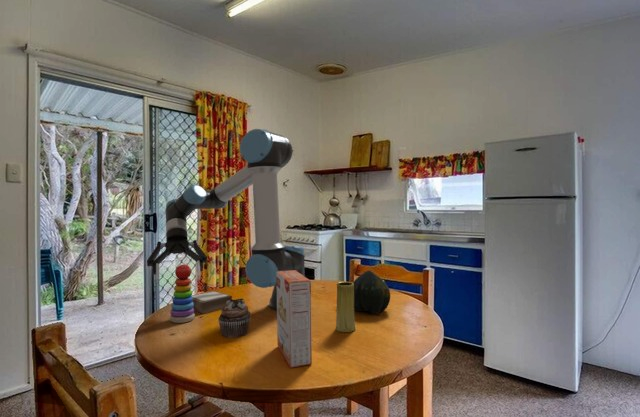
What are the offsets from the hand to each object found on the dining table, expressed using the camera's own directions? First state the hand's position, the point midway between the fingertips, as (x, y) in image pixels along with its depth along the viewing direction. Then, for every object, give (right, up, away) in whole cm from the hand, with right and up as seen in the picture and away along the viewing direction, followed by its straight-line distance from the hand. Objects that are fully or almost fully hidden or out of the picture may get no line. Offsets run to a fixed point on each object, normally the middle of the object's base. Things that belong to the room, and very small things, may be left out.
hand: (178, 279), depth 124 cm
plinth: (+7, -13, +11) cm, 18 cm away
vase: (+57, -13, -13) cm, 60 cm away
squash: (+67, -13, +6) cm, 68 cm away
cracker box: (+42, -13, -32) cm, 55 cm away
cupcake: (+23, -13, -16) cm, 31 cm away
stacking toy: (+3, -13, -4) cm, 14 cm away
